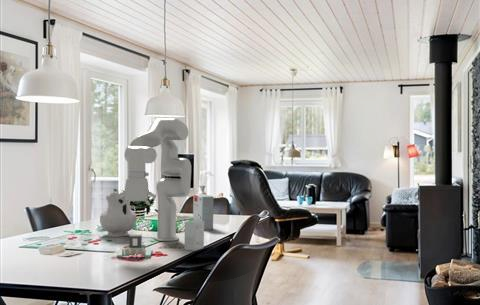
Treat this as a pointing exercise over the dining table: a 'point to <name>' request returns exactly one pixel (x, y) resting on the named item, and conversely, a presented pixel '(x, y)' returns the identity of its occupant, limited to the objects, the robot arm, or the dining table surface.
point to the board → (135, 252)
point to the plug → (135, 241)
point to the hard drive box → (203, 209)
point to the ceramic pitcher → (117, 217)
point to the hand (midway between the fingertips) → (136, 214)
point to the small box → (194, 235)
